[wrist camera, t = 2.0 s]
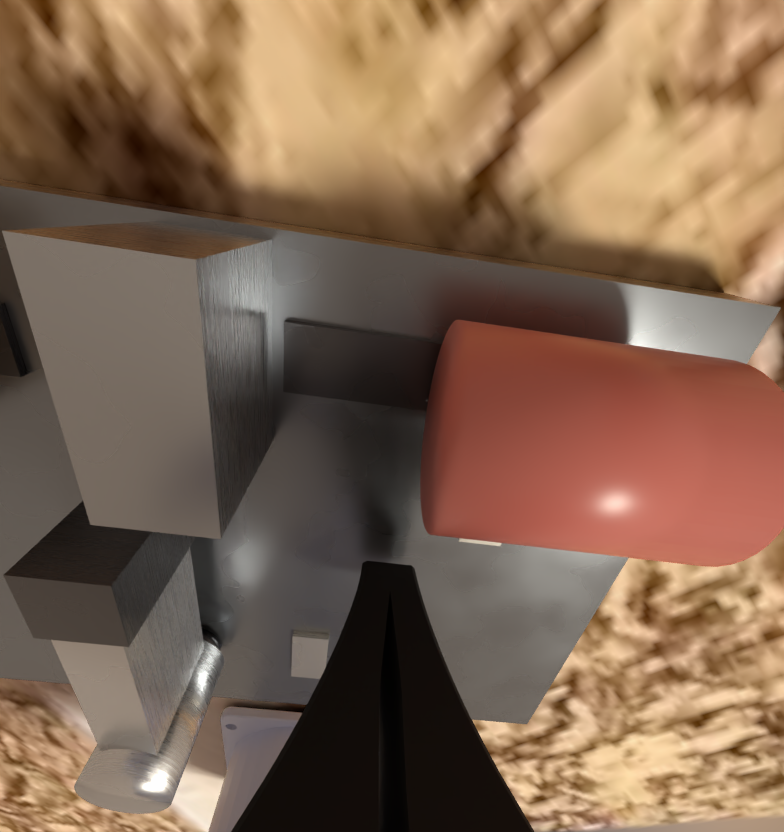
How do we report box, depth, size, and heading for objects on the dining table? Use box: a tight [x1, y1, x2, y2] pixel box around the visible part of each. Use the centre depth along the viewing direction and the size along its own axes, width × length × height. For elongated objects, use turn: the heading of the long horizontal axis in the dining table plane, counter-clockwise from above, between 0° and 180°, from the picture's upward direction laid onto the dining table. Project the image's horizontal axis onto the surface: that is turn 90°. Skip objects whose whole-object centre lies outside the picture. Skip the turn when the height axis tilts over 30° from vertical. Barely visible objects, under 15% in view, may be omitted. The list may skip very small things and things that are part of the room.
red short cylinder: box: [420, 320, 784, 567], centre depth 7 cm, size 4×5×4 cm
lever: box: [3, 501, 224, 814], centre depth 10 cm, size 9×2×4 cm, turn 172°
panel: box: [0, 179, 781, 724], centre depth 11 cm, size 17×22×5 cm
